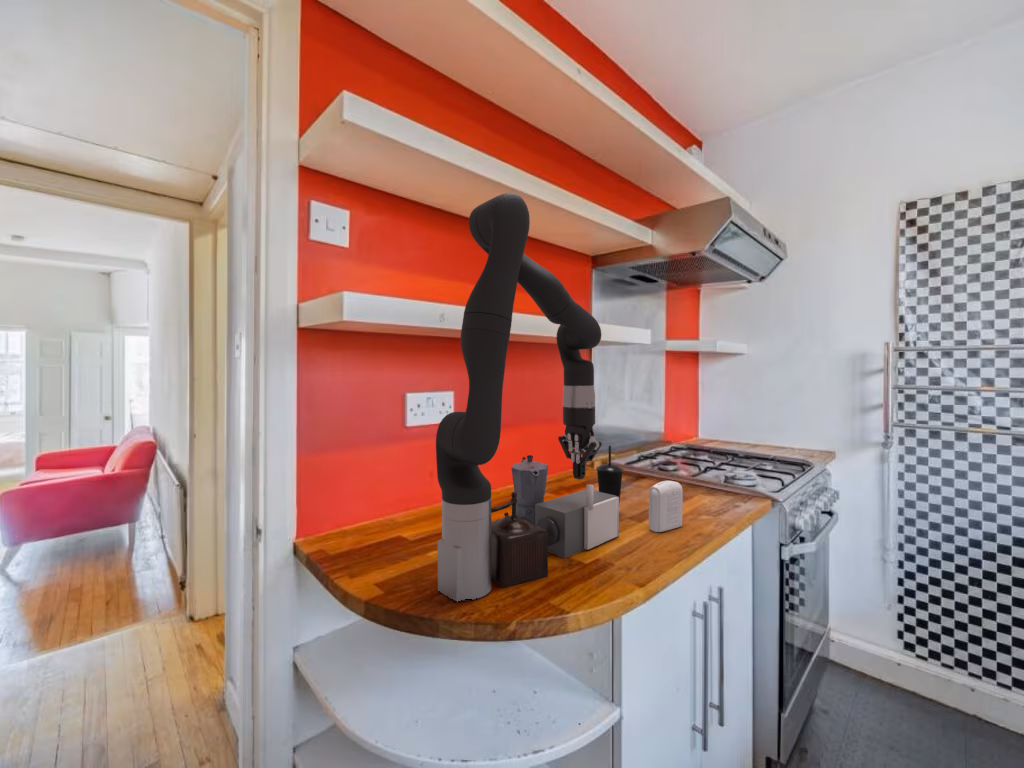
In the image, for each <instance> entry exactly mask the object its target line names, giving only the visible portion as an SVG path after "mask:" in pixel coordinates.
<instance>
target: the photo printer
mask: <svg viewBox="0 0 1024 768" xmlns="http://www.w3.org/2000/svg"><path fill="white" fill-rule="evenodd" d="M683 493H684V492H683V487H682V484H680V482H677V481H673V480H663V481H659V482H657V483H655V484H654V485H652V486H651V487H650V488H649V491H648V528H649V530H650V531H651V532H654V533H661V532H667V531H670V530H674V529H677V528H680V527H682V525H683V499H684V498H683Z"/></svg>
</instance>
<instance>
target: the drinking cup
mask: <svg viewBox="0 0 1024 768" xmlns="http://www.w3.org/2000/svg"><path fill="white" fill-rule="evenodd" d="M595 470H596V474H597V484H598V485H597V486H598V492H602V493H607V494H611V495H615V496H616V497H619V504H620V502H621V501H620V500H621V491H622V481H623V480H622V479H623V478H622V477H623V472H624V468H623V467H621V466H619V465H618V464H616V463H615V464H614V463H612V445H608V462H607V463H602V464H600V465H598V466H596V467H595Z"/></svg>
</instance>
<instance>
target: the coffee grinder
mask: <svg viewBox="0 0 1024 768" xmlns="http://www.w3.org/2000/svg"><path fill="white" fill-rule="evenodd" d="M510 494H511V495H510V497H511V498H510V499H509V500H510V501H507V502H506V503H504V504H501V505H497V506H495V507H491V514H492V513H495V512H498V511H502V510H505V509H507V508H510V507H511V515H509V512H506V511H505V512H504V517H500V518H497V519H496V520H494V521H491V580H492V581H493V582H494V583H496V584H498V585H499V584H500V585H501V587H502V588H510V587H513V586H518V585H522V584H526V583H529V582H534V581H537V580H539V579H543V578H545V577H548V576H549V571H548V569H549V567H548V566H549V564H548V563H549V560H548V559H549V556H548V555H549V552H548V533H547V530H545V529H544V528H542V527H540V526H539V525H537V524H535V523H534V522H532V521H530V520H529V519H527V518H525V517H519V516H518V515H516V503H517V502H518V500H517V498H516V497H517V493H516V492H514V491H512V492H511V493H510ZM500 585H499V586H500ZM509 586H510V587H509Z"/></svg>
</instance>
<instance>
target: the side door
mask: <svg viewBox="0 0 1024 768" xmlns="http://www.w3.org/2000/svg"><path fill="white" fill-rule="evenodd" d="M585 488H586V507H584V549H585V550H588V551H589V550H590V549H592V548H595V547H597V546H600V545H601V544H604V543H606V542H608V541H610V540H612V539H614V538H617V537H619V536H620V535H619V534H620V531H619V530H620V529H619V527H620V524H619V523H620V520H619V519H620V518H619V517H620V503H619V497H613V498H610V499H607V500H604V501H601V502H598V503H595V504H593V490H594V485H593V484H586V486H585Z"/></svg>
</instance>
